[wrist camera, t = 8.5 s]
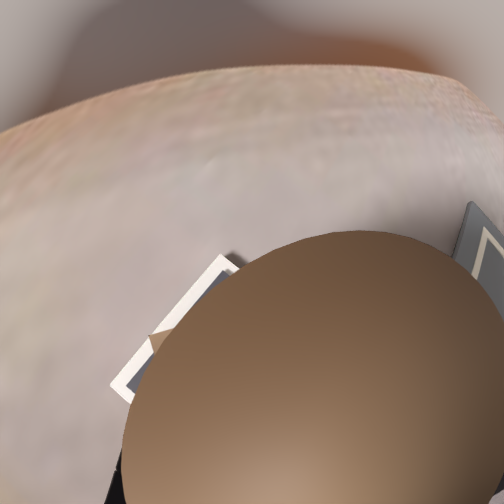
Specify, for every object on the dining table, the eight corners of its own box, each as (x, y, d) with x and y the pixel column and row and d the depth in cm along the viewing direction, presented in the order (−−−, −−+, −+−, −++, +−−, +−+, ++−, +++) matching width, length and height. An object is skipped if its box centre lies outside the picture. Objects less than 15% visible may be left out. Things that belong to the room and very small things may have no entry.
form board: (536, 288, 21) (541, 286, 20) (508, 396, 17) (514, 396, 16) (468, 203, 22) (472, 200, 21) (428, 318, 18) (434, 316, 17)
